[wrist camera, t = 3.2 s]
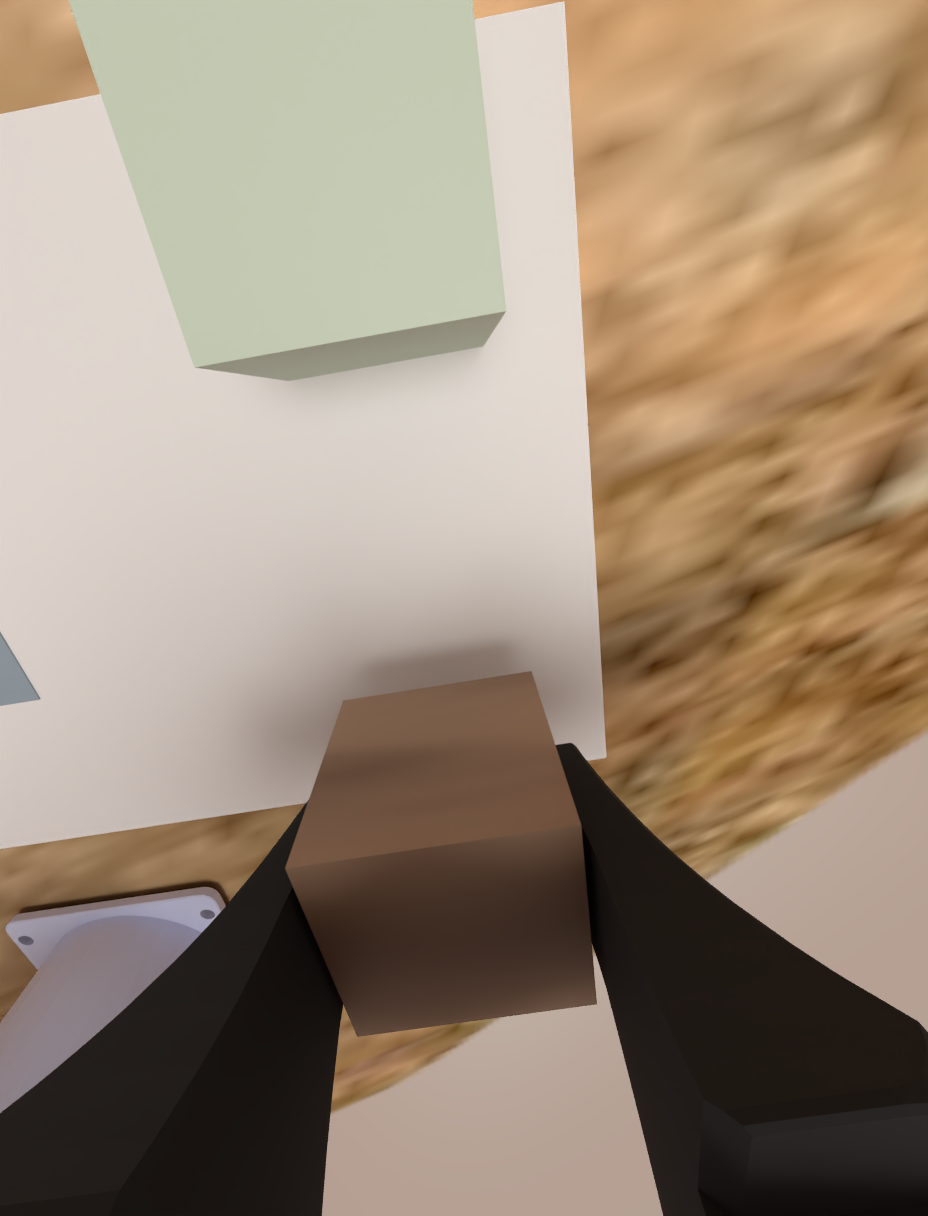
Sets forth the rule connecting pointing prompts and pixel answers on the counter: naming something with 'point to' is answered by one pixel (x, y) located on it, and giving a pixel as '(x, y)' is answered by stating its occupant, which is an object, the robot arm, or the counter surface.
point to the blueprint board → (274, 494)
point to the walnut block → (446, 859)
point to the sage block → (307, 175)
